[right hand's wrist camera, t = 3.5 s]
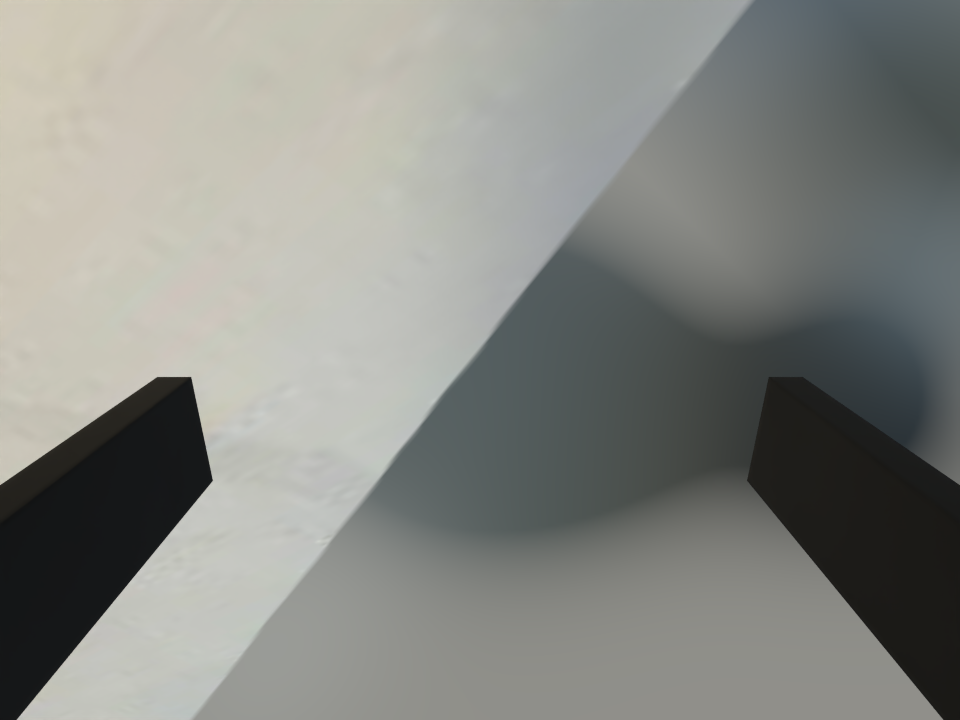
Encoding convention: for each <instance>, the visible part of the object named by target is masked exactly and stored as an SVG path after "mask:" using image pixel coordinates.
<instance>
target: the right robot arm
mask: <svg viewBox="0 0 960 720" xmlns="http://www.w3.org/2000/svg"><path fill="white" fill-rule="evenodd" d="M212 481H213V479H212V475H211V470H210V465H209V460H208V455H207V451H206V446H205V441H204V436H203V432H202V427H201V422H200V417H199V412H198V408H197V403H196V398H195V393H194V389H193V384H192V379H191V377H157V378H155V379H154V380H153V381H151V382H150V383H148V384H147V385H145V386H144V387H142V388H141V389H139V390H138V391H137V392H135V393H134V394H132V395H131V396H129V397H128V398H126V399H125V400H123V401H122V402H121V403H119V404H118V405H116V406H115V407H113V408H112V409H110V410H109V411H107V412H106V413H105V414H103V415H102V416H100V417H99V418H97V419H96V420H94V421H93V422H91V423H90V424H89V425H87V426H86V427H84V428H83V429H81V430H80V431H78V432H77V433H75V434H74V435H73V436H71V437H70V438H68V439H67V440H65V441H64V442H62V443H61V444H59V445H58V446H57V447H55V448H54V449H52V450H51V451H49V452H48V453H46V454H45V455H43V456H42V457H41V458H39V459H38V460H36V461H35V462H33V463H32V464H30V465H29V466H27V467H26V468H25V469H23V470H22V471H20V472H19V473H17V474H16V475H14V476H13V477H11V478H10V479H9V480H7V481H6V482H4V483H3V484H1V485H0V720H17V719H18V717H19V716H20V715H21V714H22V712H23V711H24V710H25V709H26V708H27V706H28V705H29V704H30V703H31V701H32V700H33V699H34V698H35V697H36V695H37V694H38V693H39V692H40V691H41V689H42V688H43V687H44V686H45V684H46V683H47V682H48V681H49V680H50V678H51V677H52V676H53V675H54V673H55V672H56V671H57V670H58V669H59V667H60V666H61V665H62V664H63V663H64V661H65V660H66V659H67V658H68V656H69V655H70V654H71V653H72V652H73V650H74V649H75V648H76V647H77V645H78V644H79V643H80V642H81V641H82V639H83V638H84V637H85V636H86V635H87V633H88V632H89V631H90V630H91V628H92V627H93V626H94V625H95V624H96V622H97V621H98V620H99V619H100V617H101V616H102V615H103V614H104V613H105V611H106V610H107V609H108V608H109V606H110V605H111V604H112V603H113V602H114V600H115V599H116V598H117V597H118V596H119V594H120V593H121V592H122V591H123V589H124V588H125V587H126V586H127V585H128V583H129V582H130V581H131V580H132V578H133V577H134V576H135V575H136V574H137V572H138V571H139V570H140V569H141V568H142V566H143V565H144V564H145V563H146V561H147V560H148V559H149V558H150V557H151V555H152V554H153V553H154V552H155V550H156V549H157V548H158V547H159V546H160V544H161V543H162V542H163V541H164V540H165V538H166V537H167V536H168V535H169V533H170V532H171V531H172V530H173V529H174V527H175V526H176V525H177V524H178V522H179V521H180V520H181V519H182V518H183V516H184V515H185V514H186V513H187V511H188V510H189V509H190V508H191V507H192V505H193V504H194V503H195V502H196V501H197V499H198V498H199V497H200V496H201V494H202V493H203V492H204V491H205V490H206V488H207V487H208V486H209V485H210V483H211V482H212ZM747 481H748V482H749V483H750V485H751V486H752V487H753V488H754V489H755V491H756V492H757V493H758V494H759V496H760V497H761V498H762V499H763V501H764V502H765V503H766V504H767V505H768V507H769V508H770V509H771V510H772V511H773V513H774V514H775V515H776V516H777V518H778V519H779V520H780V521H781V522H782V524H783V525H784V526H785V527H786V528H787V530H788V531H789V532H790V533H791V535H792V536H793V537H794V538H795V540H796V541H797V542H798V543H799V544H800V546H801V547H802V548H803V549H804V550H805V552H806V553H807V554H808V555H809V557H810V558H811V559H812V560H813V561H814V563H815V564H816V565H817V566H818V568H819V569H820V570H821V571H822V572H823V574H824V575H825V576H826V577H827V578H828V580H829V581H830V582H831V583H832V585H833V586H834V587H835V588H836V589H837V591H838V592H839V593H840V594H841V595H842V597H843V598H844V599H845V600H846V602H847V603H848V604H849V605H850V606H851V608H852V609H853V610H854V611H855V613H856V614H857V615H858V616H859V617H860V619H861V620H862V621H863V622H864V624H865V625H866V626H867V627H868V628H869V630H870V631H871V632H872V633H873V634H874V636H875V637H876V638H877V639H878V641H879V642H880V643H881V644H882V645H883V647H884V648H885V649H886V650H887V652H888V653H889V654H890V655H891V656H892V658H893V659H894V660H895V661H896V663H897V664H898V665H899V666H900V667H901V669H902V670H903V671H904V672H905V673H906V675H907V676H908V677H909V678H910V680H911V681H912V682H913V683H914V684H915V686H916V687H917V688H918V689H919V690H920V692H921V693H922V694H923V695H924V697H925V698H926V699H927V700H928V701H929V703H930V704H931V705H932V706H933V708H934V709H935V710H936V711H937V712H938V714H939V715H940V716H941V717H942V718H943V720H960V485H959V484H957V483H956V482H954V481H953V480H951V479H950V478H948V477H947V476H946V475H944V474H943V473H941V472H940V471H938V470H937V469H935V468H934V467H932V466H931V465H930V464H928V463H927V462H925V461H924V460H922V459H921V458H919V457H918V456H917V455H915V454H914V453H912V452H911V451H909V450H908V449H906V448H905V447H903V446H902V445H901V444H899V443H898V442H896V441H895V440H893V439H892V438H890V437H889V436H887V435H886V434H884V433H883V432H882V431H880V430H879V429H877V428H876V427H874V426H873V425H871V424H870V423H869V422H867V421H866V420H864V419H863V418H861V417H860V416H858V415H857V414H855V413H854V412H853V411H851V410H850V409H848V408H847V407H845V406H844V405H842V404H841V403H839V402H838V401H837V400H835V399H834V398H832V397H831V396H829V395H828V394H826V393H825V392H823V391H822V390H821V389H819V388H818V387H816V386H815V385H813V384H812V383H810V382H809V381H807V380H806V379H805V378H803V377H769V379H768V384H767V389H766V393H765V398H764V403H763V408H762V412H761V418H760V422H759V427H758V432H757V436H756V441H755V446H754V451H753V455H752V460H751V465H750V470H749V475H748V479H747Z"/></svg>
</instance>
